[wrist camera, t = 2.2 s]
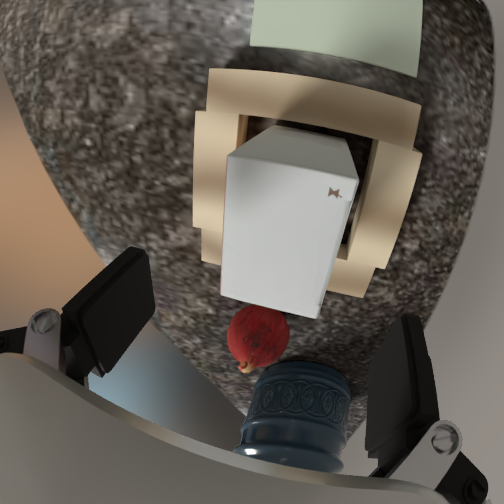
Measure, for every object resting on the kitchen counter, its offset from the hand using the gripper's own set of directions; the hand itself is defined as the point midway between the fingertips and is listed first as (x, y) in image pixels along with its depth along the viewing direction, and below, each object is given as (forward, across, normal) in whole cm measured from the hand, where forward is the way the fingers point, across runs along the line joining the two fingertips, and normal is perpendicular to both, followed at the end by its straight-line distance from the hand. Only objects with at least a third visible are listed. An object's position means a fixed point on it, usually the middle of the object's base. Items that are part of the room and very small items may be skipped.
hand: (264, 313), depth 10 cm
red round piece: (+15, +2, +13) cm, 20 cm away
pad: (+14, 0, -17) cm, 22 cm away
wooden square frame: (+14, 0, -1) cm, 14 cm away
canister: (+15, -6, +26) cm, 31 cm away
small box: (+14, 0, -1) cm, 15 cm away
